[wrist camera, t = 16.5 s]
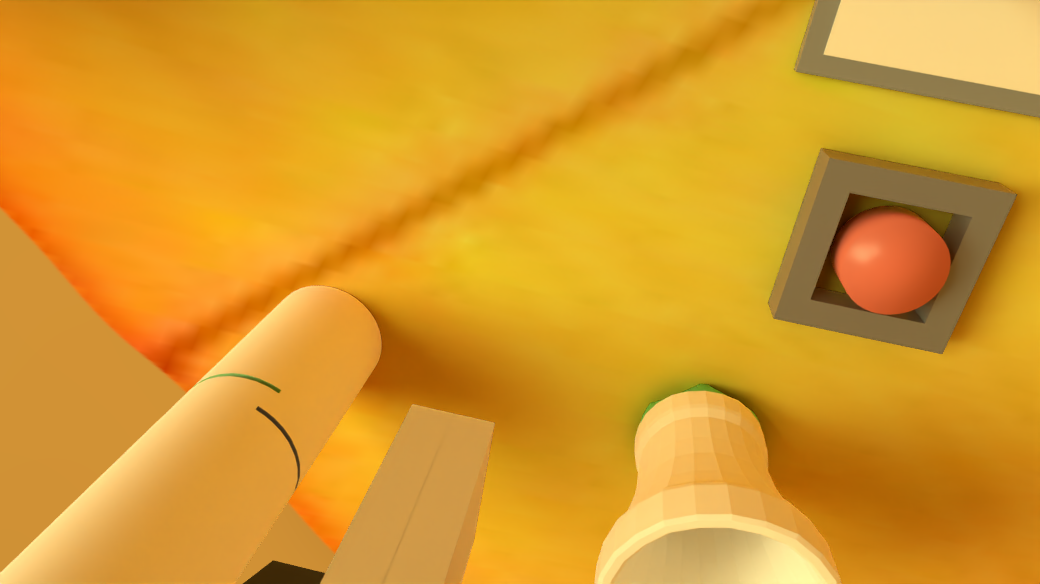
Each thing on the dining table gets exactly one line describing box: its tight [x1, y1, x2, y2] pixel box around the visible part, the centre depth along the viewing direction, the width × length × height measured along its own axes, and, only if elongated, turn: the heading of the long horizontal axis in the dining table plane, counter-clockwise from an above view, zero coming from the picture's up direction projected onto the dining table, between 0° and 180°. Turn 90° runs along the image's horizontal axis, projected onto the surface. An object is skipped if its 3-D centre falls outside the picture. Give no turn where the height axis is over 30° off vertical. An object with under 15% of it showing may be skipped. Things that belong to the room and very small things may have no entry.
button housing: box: [768, 148, 1017, 354], centre depth 39 cm, size 9×9×2 cm
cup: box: [594, 384, 842, 584], centre depth 40 cm, size 11×11×14 cm
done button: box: [831, 206, 951, 315], centre depth 38 cm, size 5×5×2 cm
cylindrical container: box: [0, 286, 382, 584], centre depth 37 cm, size 7×7×25 cm
